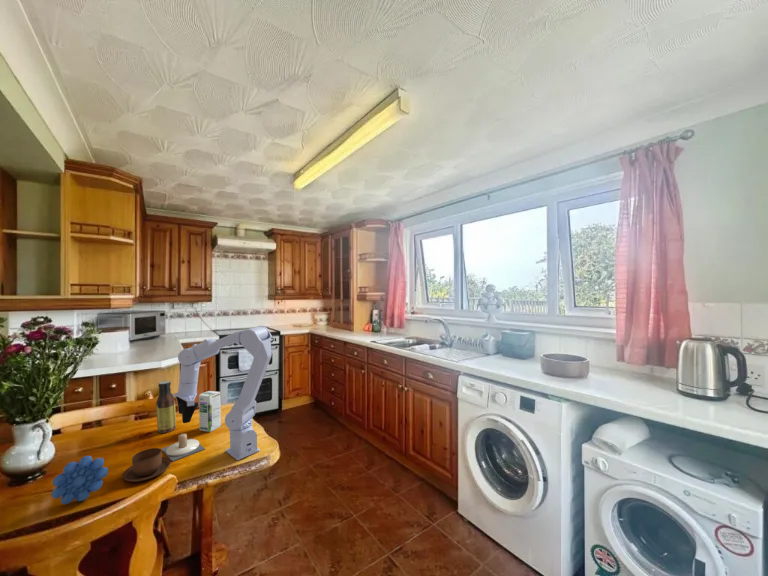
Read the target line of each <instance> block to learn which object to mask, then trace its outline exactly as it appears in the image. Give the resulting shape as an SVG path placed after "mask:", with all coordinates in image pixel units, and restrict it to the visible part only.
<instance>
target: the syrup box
mask: <svg viewBox="0 0 768 576" xmlns="http://www.w3.org/2000/svg"><path fill="white" fill-rule="evenodd" d="M221 403H222V402H221V391H213V390H208V391H205V392H202V393H200V394H199V395H198V408H199V409H198V410H199V411H198V412H199V419H198V420H199V423H198V424H199V427H198V428H199V431H203V432H208V433H212V432H213V431H216V430H217V429H218V428H220V427H221V426H222V416H221V415H222V412H221Z"/></svg>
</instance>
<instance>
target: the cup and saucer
mask: <svg viewBox="0 0 768 576" xmlns="http://www.w3.org/2000/svg"><path fill="white" fill-rule="evenodd" d="M161 449H162V448H159V447H158V448H157V447H155V448H154V447H153V448H148V449H144V450H141V451H139V452H137V453H136V454H134V455H133V456H132V457H131V459H132V460H131V461H132V465H131V466H128V468H126V469H125V471H124V472H123V473H122V478H123V479H124V480H125V481H126V482H127V481H128V482H132V483H133V482H134V483H136V482H137V483H138V482H144V481H147V480H150V479H152V478H156V477H157V476H159V475H161V474H162V473H164V472H165V471H166V470H168V468H169V467H170V465H171V463H172V461H171V460H170V459H169V458H168V457H165V456H162V450H161Z"/></svg>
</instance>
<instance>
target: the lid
mask: <svg viewBox="0 0 768 576" xmlns="http://www.w3.org/2000/svg"><path fill="white" fill-rule="evenodd" d="M177 438H178V439H177V440H178V441H177V442H175V443H172V444H171V445H168V446H169V447H168V446H167V447H168V448H167V449H166V454H167V455H168V456H181V455H185V454H188V453H190V452H192V451H194V450H196V449H197V448H198V447H199V444H200V441H199V440H197V439H194V438H193V439H191V438H188V435H187V433H181V434H178V436H177ZM188 439H189V440H188ZM166 454H165V455H166Z"/></svg>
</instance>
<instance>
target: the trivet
mask: <svg viewBox="0 0 768 576" xmlns="http://www.w3.org/2000/svg"><path fill="white" fill-rule="evenodd" d="M189 439H194V438H193V437H192V438H187V440H189ZM169 446H170V445H168V446H166V447H162V448H160V449H161V452H162V453H164V455H165V456H167V457H166V458H169V459H170V460H171V463H174V462H176V461H179V460H182V459H184V458H186V457H189V456H192V455H195V454H197V453H200V452H202V451H204V450H206V448H205V447H204V446H203V445H202V444H201V443H199V447H198V448H197V449H196V450H194V451H192V452H190V453H188V454H185V455H181V456H168V455H167V454H166V449H167V448H168V447H169Z"/></svg>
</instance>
